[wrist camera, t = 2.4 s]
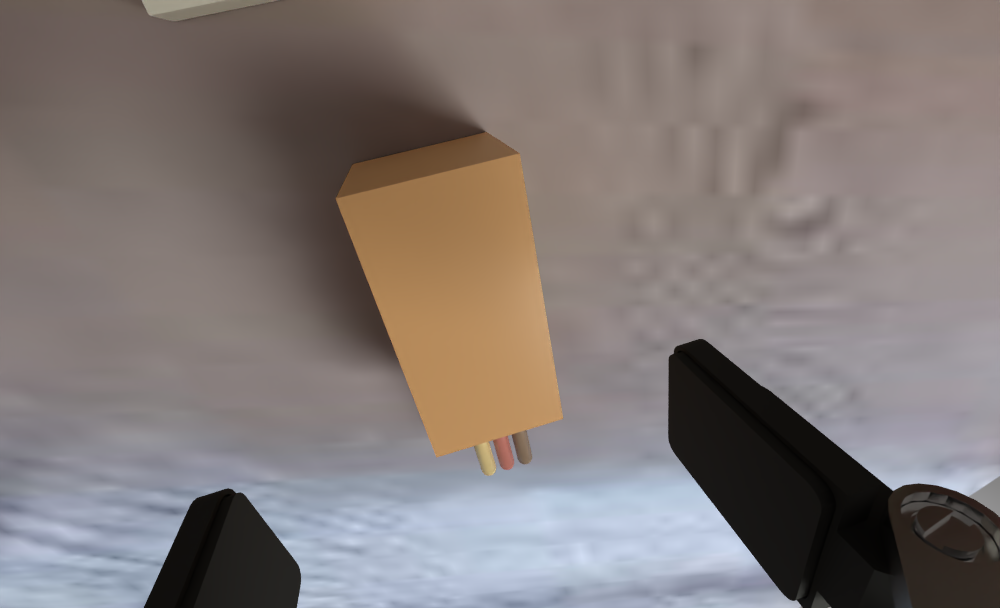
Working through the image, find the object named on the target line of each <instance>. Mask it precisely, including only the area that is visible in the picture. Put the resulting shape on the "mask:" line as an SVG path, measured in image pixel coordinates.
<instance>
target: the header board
mask: <svg viewBox="0 0 1000 608" xmlns="http://www.w3.org/2000/svg"><path fill="white" fill-rule="evenodd" d="M273 1H278V0H142V2H143V4H144V6H145V8H146V10H147V12H148V14H149V16H153V17H157V18H161V19H165V20H170V21H174V22H175V21H180V20H185V19H190V18H195V17H200V16H205V15H210V14H214V13H219V12H224V11H229V10H234V9H239V8H244V7H249V6H254V5H259V4H264V3H268V2H273Z"/></svg>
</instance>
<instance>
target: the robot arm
mask: <svg viewBox="0 0 1000 608" xmlns="http://www.w3.org/2000/svg"><path fill="white" fill-rule="evenodd" d="M668 438H669V443H670V446H671V448H672V450H673V452H674V453H675V455H676V456H677V457H678V459H679V460H680V461H681V462H682V464H683V465H684V466H685V468H686V469H687V470H688V472H689V473H690V474H691V475H692V477H693V478H694V479H695V481H696V482H697V483H698V485H699V486H700V487H701V488H702V490H703V491H704V492H705V494H706V495H707V496H708V498H709V499H710V500H711V501H712V503H713V504H714V505H715V507H716V508H717V509H718V511H719V512H720V513H721V514H722V516H723V517H724V518H725V520H726V521H727V522H728V523H729V525H730V526H731V527H732V529H733V530H734V531H735V533H736V534H737V535H738V536H739V538H740V539H741V540H742V542H743V543H744V544H745V546H746V547H747V548H748V549H749V551H750V552H751V553H752V555H753V556H754V557H755V559H756V560H757V561H758V562H759V564H760V565H761V566H762V568H763V569H764V570H765V572H766V573H767V574H768V575H769V577H770V578H771V579H772V581H773V582H774V583H775V584H776V586H777V587H778V588H779V590H780V591H781V592H782V593H783V594H784V595H785V596H786V597H787V598H788V599H790V600H792V601H795V600H797V601H798V602H799V603H800V605H801V606H802V607H803V608H828V607H831V608H1000V517H998V515H997V514H996V513H994V512H993V511H991V510H990V509H988V508H987V507H985V506H984V505H982V504H981V503H979V502H977V501H976V500H974V499H972V498H970V497H967V496H965V495H963V494H961V493H959V492H957V491H954V490H950V489H947V488H943V487H940V486H936V485H927V484H911V485H904V486H902V487H900V488H898V489H896V490H894V491H892V490H891V489H890V488H889V487H887V486H886V485H885V484H884V483H883V482H881V481H880V480H879V479H878V478H876V477H875V476H874V475H873V474H871V473H870V472H869V471H868V470H867V469H865V468H864V467H863V466H862V465H860V464H859V463H858V462H857V461H856V460H854V459H853V458H852V457H851V456H849V455H848V454H847V453H846V452H844V451H843V450H842V449H841V448H840V447H838V446H837V445H836V444H835V443H833V442H832V441H831V440H830V439H828V438H827V437H826V436H825V435H824V434H822V433H821V432H820V431H819V430H817V429H816V428H815V427H814V426H813V425H811V424H810V423H809V422H808V421H806V420H805V419H804V418H803V417H801V416H800V415H799V414H798V413H797V412H795V411H794V410H793V409H792V408H790V407H789V406H788V405H787V404H785V403H784V402H783V401H782V400H781V399H779V398H778V397H777V396H776V395H774V394H773V393H772V392H771V391H769V390H768V389H766V388H765V387H763V386H761V385H759V384H758V383H757V382H756V381H755V380H753V379H752V378H751V377H750V376H748V375H747V374H746V373H745V372H744V371H742V370H741V369H740V368H739V367H738V366H736V365H735V364H734V363H733V362H731V361H730V360H729V359H728V358H727V357H725V356H724V355H723V354H722V353H720V352H719V351H718V350H717V349H716V348H714V347H713V346H712V345H711V344H709V343H708V342H707V341H705V340H704V339H698V340H695V341H692V342H689V343H686V344H682V345H679V346H677V347H676V348H675V349H674V354H673V355H670V357H669V409H668ZM300 585H301V573H300V569H299V566H298V564H297V563H296V561H295V560H294V559H293V557H292V556H291V555H290V553H289V552H288V551H287V550H286V548H285V547H284V546H283V544H282V543H281V542H280V540H279V539H278V538H277V536H276V535H275V534H274V533H273V531H272V530H271V529H270V527H269V526H268V525H267V523H266V522H265V521H264V520H263V518H262V517H261V516H260V514H259V513H258V512H257V510H256V509H255V508H254V506H253V505H252V504H251V503H250V501H249V500H248V499H247V497H246V496H245V495H244V494H243V493H235V492H234V491H233V490H232V489H229V488H228V489H224V490H221V491H218V492H215V493H212V494H208V495H205V496H202V497H199V498H197V499H195V500H194V501H193V502H192V504H191V505H190V507H189V509H188V512H187V514H186V516H185V518H184V520H183V523H182V525H181V527H180V529H179V531H178V534H177V536H176V538H175V540H174V542H173V545H172V547H171V549H170V551H169V553H168V556H167V558H166V560H165V562H164V564H163V567H162V569H161V571H160V573H159V575H158V578H157V580H156V582H155V584H154V586H153V589H152V591H151V593H150V595H149V597H148V600H147V602H146V604H145V606H144V608H297V603H298V597H299V591H300Z"/></svg>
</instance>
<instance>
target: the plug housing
mask: <svg viewBox="0 0 1000 608" xmlns="http://www.w3.org/2000/svg"><path fill="white" fill-rule="evenodd" d="M336 201H337V204H338V206H339V209H340V211H341V214H342V217H343V219H344V222H345V224H346V227H347V229H348V232H349V234H350V237H351V240H352V242H353V245H354V247H355V250H356V252H357V255H358V257H359V260H360V263H361V265H362V268H363V270H364V273H365V275H366V278H367V280H368V283H369V286H370V288H371V291H372V293H373V296H374V298H375V301H376V304H377V306H378V309H379V311H380V314H381V316H382V319H383V321H384V324H385V327H386V329H387V332H388V334H389V337H390V339H391V342H392V344H393V347H394V350H395V352H396V355H397V357H398V360H399V362H400V365H401V367H402V370H403V373H404V375H405V378H406V380H407V383H408V385H409V388H410V391H411V393H412V396H413V398H414V401H415V403H416V406H417V408H418V411H419V414H420V416H421V419H422V421H423V424H424V426H425V429H426V431H427V434H428V437H429V439H430V442H431V444H432V447H433V449H434V452H435V454H436V457H439V456H443V455H446V454H449V453H453V452H456V451H459V450H462V449H466V448H469V447H472V446H474V448H475V451H476V454H477V457H478V460H479V463H480V466H481V469H482V472H483V473H484V474H485V475H487V476H490V475H492V474H494V473H495V471H496V464H495V461H494V458H493V454H492V451H491V447H490V444H489V441H492V440H493V442H494V446H495V449H496V453H497V456H498V460H499V463H500V466H501V467H502V468H503V469H504V470H509V469H511V468H512V467H513V465H514V459H513V455H512V451H511V447H510V443H509V439H508V435H512V438H513V442H514V445H515V449H516V453H517V457H518V460H519V462H520V463H522V464H528V463H530V462H531V460H532V453H531V449H530V444H529V440H528V436H527V431H526V430H528V429H531V428H534V427H538V426H541V425H544V424H548V423H551V422H554V421H557V420H561V419H563V415H562V409H561V403H560V397H559V391H558V384H557V378H556V372H555V366H554V360H553V354H552V348H551V342H550V336H549V330H548V323H547V317H546V311H545V305H544V299H543V293H542V287H541V281H540V275H539V269H538V262H537V256H536V250H535V244H534V238H533V232H532V226H531V220H530V214H529V207H528V201H527V195H526V189H525V183H524V177H523V171H522V165H521V159H520V153H518V152H517V151H515V150H514V149H512V148H510V147H509V146H507V145H506V144H504V143H503V142H501V141H500V140H498V139H497V138H495V137H493V136H492V135H490V134H489V133H487V132H484V133H480V134H476V135H472V136H468V137H464V138H459V139H455V140H451V141H447V142H443V143H439V144H435V145H430V146H426V147H422V148H418V149H414V150H410V151H405V152H401V153H397V154H393V155H389V156H385V157H380V158H376V159H372V160H368V161H364V162H360V163H355V164H352V166H351V169H350V171H349V173H348V175H347V177H346V179H345V181H344V183H343V185H342V187H341V189H340V191H339V193H338V195H337V197H336Z"/></svg>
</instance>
